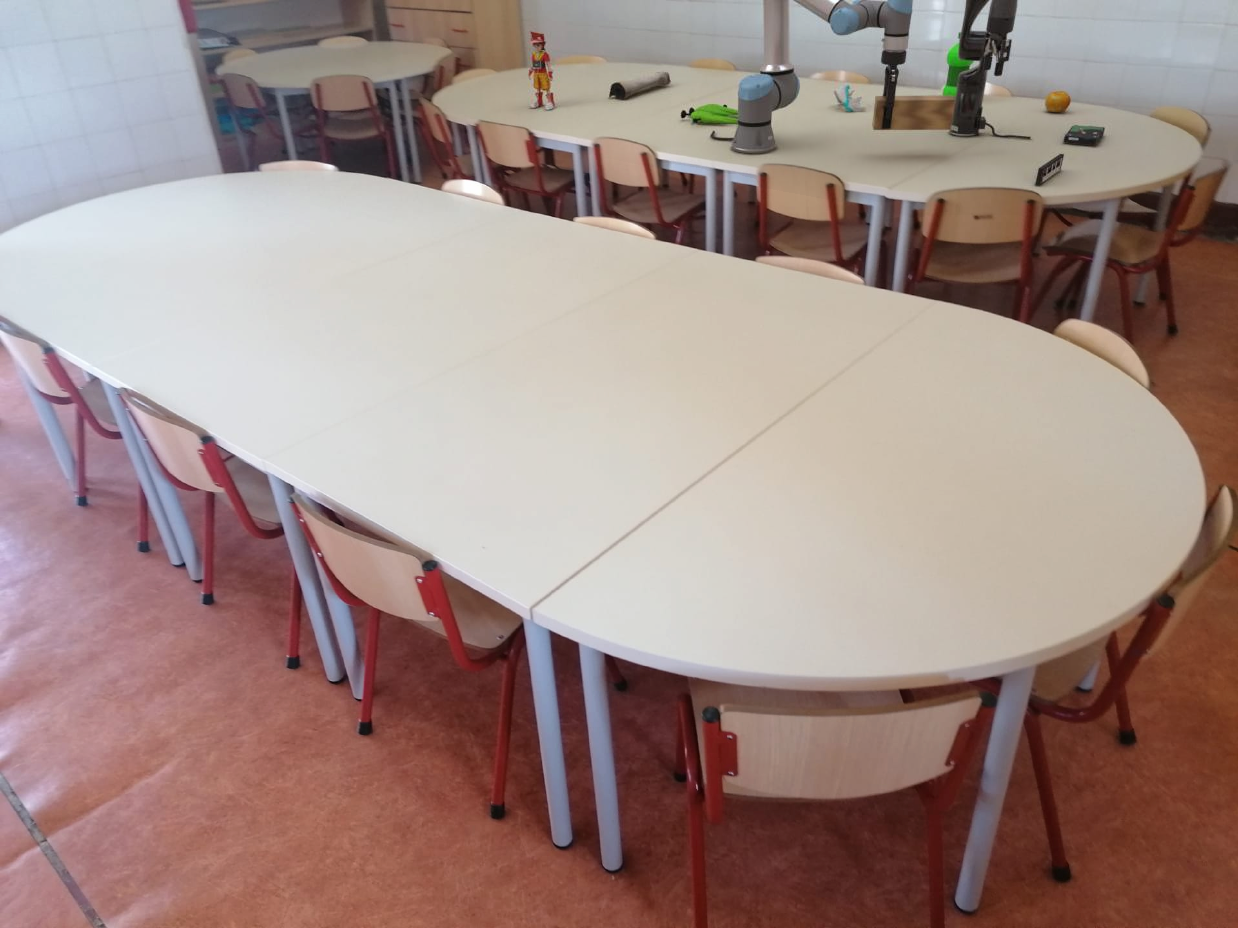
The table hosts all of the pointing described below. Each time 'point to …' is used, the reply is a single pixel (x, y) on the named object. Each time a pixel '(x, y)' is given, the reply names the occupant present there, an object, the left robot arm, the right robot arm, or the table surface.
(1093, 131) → the disk drive
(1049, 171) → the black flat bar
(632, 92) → the rolled mat
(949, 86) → the plastic bottle
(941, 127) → the box
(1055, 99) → the fruit
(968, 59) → the right robot arm
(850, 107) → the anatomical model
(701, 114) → the toy
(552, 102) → the toy
